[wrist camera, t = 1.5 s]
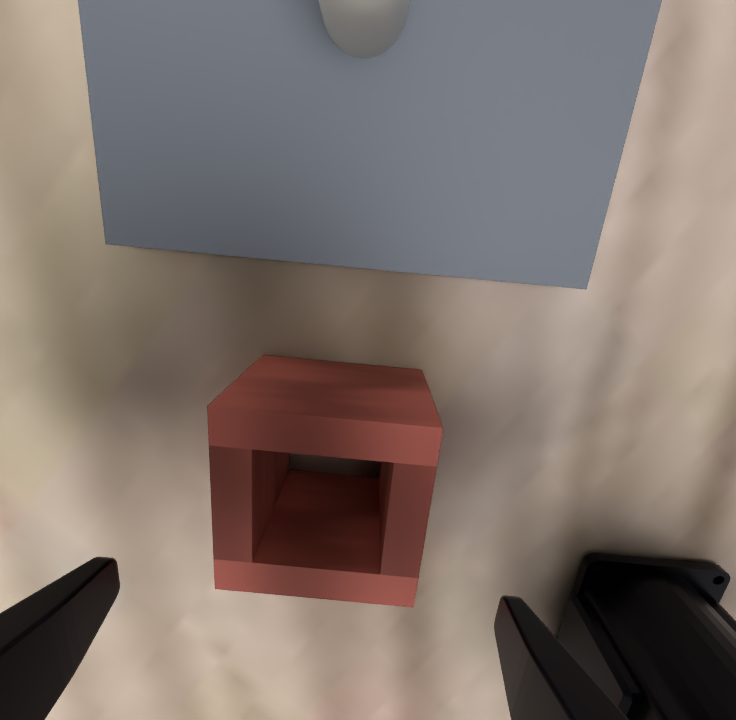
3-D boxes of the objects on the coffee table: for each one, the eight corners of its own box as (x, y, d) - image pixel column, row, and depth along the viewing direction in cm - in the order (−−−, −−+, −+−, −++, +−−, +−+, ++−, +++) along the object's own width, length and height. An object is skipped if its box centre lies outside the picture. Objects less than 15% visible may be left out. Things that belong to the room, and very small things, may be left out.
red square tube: (421, 369, 15) (443, 428, 10) (403, 503, 16) (413, 607, 12) (263, 355, 15) (207, 405, 10) (262, 490, 16) (214, 589, 12)
